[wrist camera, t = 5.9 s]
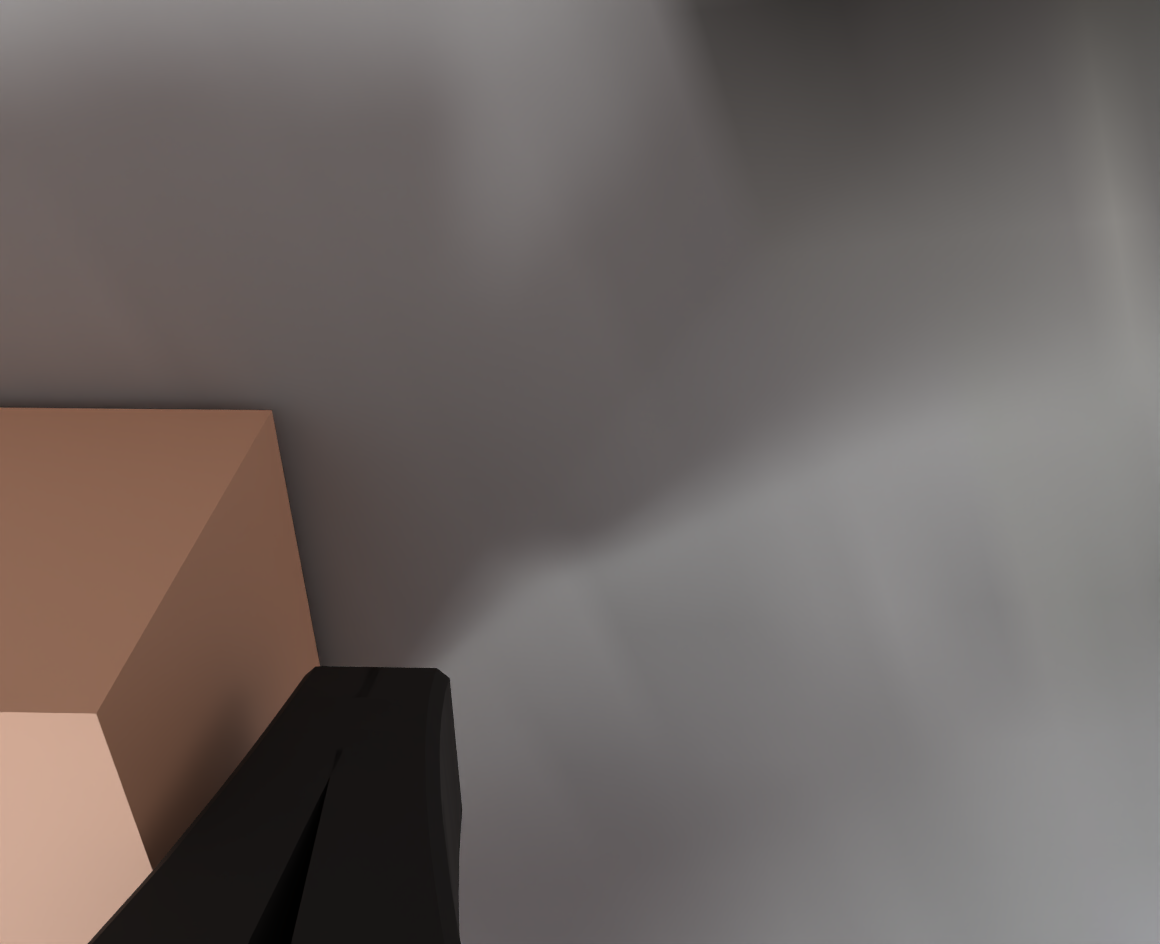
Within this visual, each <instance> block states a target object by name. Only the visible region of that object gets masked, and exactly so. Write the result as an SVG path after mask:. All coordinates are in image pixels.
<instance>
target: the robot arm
mask: <svg viewBox="0 0 1160 944" xmlns="http://www.w3.org/2000/svg"><path fill="white" fill-rule="evenodd" d="M461 819H462V804H461V793H460V783H459V772H458V762H457V751H456V740H455V730H454V719H453V709H452V698H451V688H450V678H449V677H447V676H446V675H445V674H444V673H442V672H441V671H440V670H438V669H437V668H391V667H326V666H315V667H314V668H313V669H312V670H311V671H310V672H308V673H307V674H306V675H305V676H304V677H303V679H302V680H301V682H300V683H299V684H298V686H297V687H296V688H295V690H294V691H293V693H292V694H291V695H290V697H289V698H288V700H287V701H286V702H285V704H284V705H283V706H282V708H281V709H280V710H279V712H278V713H277V714H276V716H275V717H274V719H273V720H272V721H271V723H270V724H269V725H268V727H267V728H266V729H265V731H264V732H263V733H262V735H261V736H260V737H259V739H258V740H257V741H256V743H255V744H254V745H253V747H252V748H251V749H250V751H249V752H248V753H247V754H246V756H245V757H244V758H243V760H242V761H241V762H240V763H239V765H238V766H237V767H236V769H235V770H234V771H233V773H232V774H231V775H230V776H229V778H228V779H227V780H226V782H225V783H224V784H223V785H222V787H221V788H220V789H219V790H218V792H217V793H216V794H215V795H214V797H213V798H212V799H211V800H210V802H209V803H208V804H207V805H206V806H205V808H204V809H203V810H202V811H201V813H200V814H199V815H198V816H197V817H196V819H195V820H194V821H193V822H192V824H191V825H190V826H189V827H188V828H187V830H186V831H185V832H184V833H183V835H182V836H181V837H180V838H179V839H178V841H177V842H176V843H175V844H174V846H173V847H172V848H171V849H170V850H169V852H168V853H167V854H166V855H165V857H164V858H163V859H162V860H161V861H160V862H159V864H158V865H157V866H156V867H155V868H154V870H153V871H152V872H151V873H150V874H149V875H148V877H147V878H146V879H145V880H144V881H143V882H142V883H141V885H140V886H139V887H138V888H137V889H136V890H135V891H134V892H133V893H132V895H131V896H130V897H129V898H128V899H127V900H126V901H125V902H124V904H123V905H122V906H121V907H120V908H119V909H118V910H117V911H116V912H115V914H114V915H113V916H112V917H111V918H110V919H109V920H108V921H107V922H106V924H105V925H104V926H103V927H102V928H101V929H100V930H99V931H98V933H97V934H96V935H95V936H94V937H93V938H92V939H91V940H90V941H89V943H88V944H461V942H460V937H459V895H458V892H459V848H460V833H461Z"/></svg>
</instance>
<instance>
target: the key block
mask: <svg viewBox="0 0 1160 944" xmlns="http://www.w3.org/2000/svg"><path fill="white" fill-rule="evenodd" d="M315 666H320V663H319V658H318V653H317V647H316V642H315V637H314V631H313V626H312V621H311V616H310V610H309V605H308V600H307V594H306V589H305V584H304V578H303V573H302V568H301V563H300V557H299V552H298V547H297V541H296V536H295V531H294V525H293V520H292V515H291V510H290V504H289V499H288V494H287V488H286V483H285V478H284V472H283V467H282V462H281V457H280V451H279V446H278V441H277V435H276V430H275V425H274V419H273V414H272V410H197V409H93V408H0V944H88V943H89V941H90V940H91V939H92V938H93V937H94V936H95V935H96V934H97V933H98V931H99V930H100V929H101V928H102V927H103V926H104V925H105V924H106V922H107V921H108V920H109V919H110V918H111V917H112V916H113V915H114V914H115V912H116V911H117V910H118V909H119V908H120V907H121V906H122V905H123V904H124V902H125V901H126V900H127V899H128V898H129V897H130V896H131V895H132V893H133V892H134V891H135V890H136V889H137V888H138V887H139V886H140V885H141V883H142V882H143V881H144V880H145V879H146V878H147V877H148V875H149V874H150V873H151V872H152V871H153V870H154V868H155V867H156V866H157V865H158V864H159V862H160V861H161V860H162V859H163V858H164V857H165V855H166V854H167V853H168V852H169V850H170V849H171V848H172V847H173V846H174V844H175V843H176V842H177V841H178V839H179V838H180V837H181V836H182V835H183V833H184V832H185V831H186V830H187V828H188V827H189V826H190V825H191V824H192V822H193V821H194V820H195V819H196V817H197V816H198V815H199V814H200V813H201V811H202V810H203V809H204V808H205V806H206V805H207V804H208V803H209V802H210V800H211V799H212V798H213V797H214V795H215V794H216V793H217V792H218V790H219V789H220V788H221V787H222V785H223V784H224V783H225V782H226V780H227V779H228V778H229V776H230V775H231V774H232V773H233V771H234V770H235V769H236V767H237V766H238V765H239V763H240V762H241V761H242V760H243V758H244V757H245V756H246V754H247V753H248V752H249V751H250V749H251V748H252V747H253V745H254V744H255V743H256V741H257V740H258V739H259V737H260V736H261V735H262V733H263V732H264V731H265V729H266V728H267V727H268V725H269V724H270V723H271V721H272V720H273V719H274V717H275V716H276V714H277V713H278V712H279V710H280V709H281V708H282V706H283V705H284V704H285V702H286V701H287V700H288V698H289V697H290V695H291V694H292V693H293V691H294V690H295V688H296V687H297V686H298V684H299V683H300V682H301V680H302V679H303V677H304V676H305V675H306V674H307V673H308V672H310V671H311V670H312V669H313V668H314V667H315Z"/></svg>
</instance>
